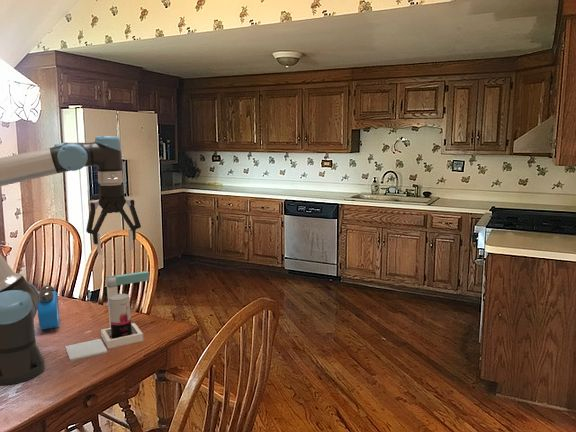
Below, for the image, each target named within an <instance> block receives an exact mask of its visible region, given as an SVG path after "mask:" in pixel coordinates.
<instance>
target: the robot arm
mask: <svg viewBox="0 0 576 432" xmlns="http://www.w3.org/2000/svg"><path fill="white" fill-rule="evenodd" d="M122 158H123V157H122V147H121V139H120V138H119V137H118V136H117V135H97V136H95V137H94V142H58V143H55V144H54V146H53V147H48V148H41V149H38V150H32V151H28V152H24V153H23V152H22V153H18V154H14V155H8V156H4V157H3V156H2V157H0V187H4V186H9V185H13V184H17V183H22V182H25V181H29V180H34V179H39V178H42V177H47V176H53V175H57V174H62V173H66V172H71V171H72V172H75V171H78V170H81V169H83V168H84V167H96V168H97V169H96V170H97V183H98V184H99V186H98V194H99V195H98V196H99V200H98V201H94V202H92V201H90V202H89V214H88V219H87V223H86V224H87V225H86V231H85V232H86V233H88V234H91V235H92V240H93V241H92V242H93V245H96V251H97V254H98V255H99V256H100V255H102V242H101V241H102V240H101V234H100V233H99V231H100V229H101V228H102V225H103V223H104V221H105V219H106V217H107V216H108V214H113V213H119V214H120V215H121V217H122V218H123V220H124V222H125V223H126V224H127V226H128V227H129V229H127V230H128V231H127V233H128V235H127V236H128V246H129V247H128V248H129V250H131V251H134V250H135V249H134V241H135V240H136V239H137V237H136V235H137V233H136V231H137V230H138V229H141V227H142V226H141V223H140V220H139V216H138V214H137V211H136V208H135V200H134V199H132V198H130V199H126V198H125V192H124V188H125V187H124V184H123V182H124V179H123V177H124V176H123V162H122V161H123V160H122ZM125 204H127V206H128V208H129V211H130V213H131V216H132V219H133V222H134V223H133V222H132V221H131V219H130V217H129V215H128V214H127V213H126V211H125V210H124V208H123V207H124V206H125ZM98 207H100V208H101V212H100V214H99V216H98V218H97V220H96V223H95V225H94V222H95V221H94V220H95V216H96V209H97V210H98ZM93 225H94V227H93ZM39 293H40V292H39V291H38V289H37V288H36V287H35V285H34V284H33V283H30V282H29V281H27V280H26V278H25V276H23V274H22V273H20V272H19V273H18V272H15V271H14V270H13V269H12V268H11V266H10V265H9V263H8V261H6V259H5V258H4V257H3V255H2V254H1V253H0V386H8V385H15V384H19V383H23V382H25V381H28V380H31V379H33V378H35V377H37V376H39V375H40V374H41V373H42V372H43V371H44V370H45V367H46V364H45V358H44V356H43V354H42V351H41V350H40V349H39V346H38V344H37V339H36V330H35V316H36V314H37V312H38V307H39V303H40V297H39Z"/></svg>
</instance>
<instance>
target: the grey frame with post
mask: <svg viewBox="0 0 576 432" xmlns="http://www.w3.org/2000/svg"><path fill="white" fill-rule="evenodd" d="M118 292H119V290H118V285H117V286H113V287H107V286H106V294H107V308H108V309H107V310H108V320H109V327H108V328H103V329H100V335H101V337H100V338H102V339H101V340H103V343H104V345H106V346H105V347H106V349H107V350H108V349H113V348H118V347H121V346H126V345H131V344H134V343H140V342H144V333H143V332H142V330H141V329H140V327H138V325H137V324H136V323H135V322H131V328H132V335H128V336H124V337H119V338H114V339H112V338H111V337H112V334H111V321H110V308H109V297H110V296H112V295H115V294H119V293H118Z"/></svg>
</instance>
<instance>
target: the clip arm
mask: <svg viewBox="0 0 576 432" xmlns="http://www.w3.org/2000/svg"><path fill="white" fill-rule="evenodd" d="M147 281H150V272H149V271H148V270H143V271H139V272H130V273H124V274H117V275H108V276H106V277H105V283H106V285H105V286H106V288H107V287H113V286H117V287H118V286H122V285H128V284H136V283H141V282H147Z"/></svg>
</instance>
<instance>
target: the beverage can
mask: <svg viewBox="0 0 576 432" xmlns="http://www.w3.org/2000/svg"><path fill="white" fill-rule="evenodd" d="M129 295H130V294H128V293H118V294H115V295H112V296H110V297H109V308H110V321H111V334H112V336H111V339H114V338H119V337H124V336H128V335H133V332H132V328H131V323H132V317H131V305H130V304H131V302H130V296H129Z"/></svg>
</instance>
